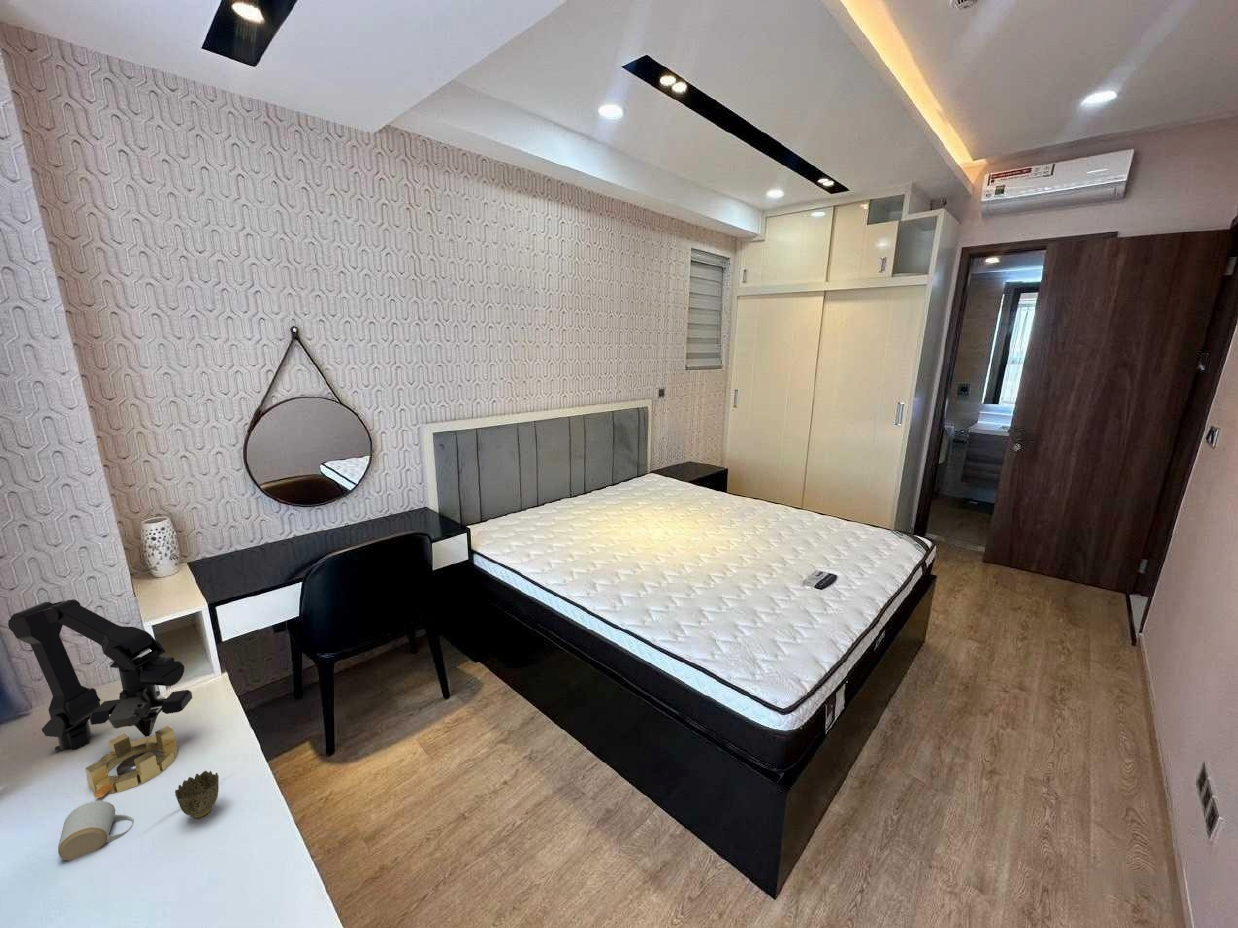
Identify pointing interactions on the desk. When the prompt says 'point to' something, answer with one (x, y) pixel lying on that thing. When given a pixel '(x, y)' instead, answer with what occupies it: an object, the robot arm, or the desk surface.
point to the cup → (198, 794)
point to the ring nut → (144, 764)
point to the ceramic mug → (88, 829)
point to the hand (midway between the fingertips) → (148, 735)
